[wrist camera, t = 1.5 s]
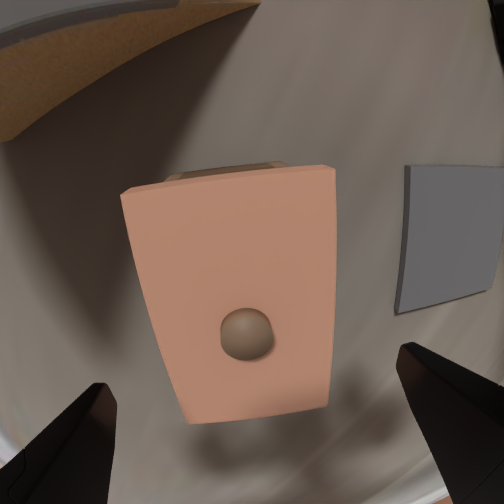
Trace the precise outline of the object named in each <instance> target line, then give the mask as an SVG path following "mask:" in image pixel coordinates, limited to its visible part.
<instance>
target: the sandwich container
mask: <svg viewBox="0 0 504 504" xmlns="http://www.w3.org/2000/svg"><path fill="white" fill-rule="evenodd" d="M260 3H261V0H0V142H5V141H10V140H13V139H14V138H15V137H16V136H17V135H19V134H20V133H21V132H22V131H24V130H25V129H26V128H27V127H29V126H30V125H31V124H33V123H34V122H35V121H37V120H38V119H39V118H41V117H42V116H43V115H45V114H46V113H47V112H49V111H50V110H52V109H53V108H54V107H56V106H57V105H59V104H60V103H62V102H63V101H65V100H66V99H68V98H69V97H71V96H72V95H74V94H75V93H77V92H79V91H80V90H82V89H83V88H85V87H87V86H88V85H90V84H91V83H93V82H95V81H96V80H98V79H99V78H101V77H102V76H104V75H105V74H107V73H109V72H110V71H112V70H114V69H115V68H117V67H119V66H120V65H122V64H124V63H125V62H127V61H129V60H131V59H132V58H134V57H136V56H138V55H140V54H141V53H143V52H145V51H147V50H149V49H151V48H153V47H155V46H157V45H159V44H161V43H163V42H165V41H167V40H169V39H171V38H173V37H175V36H177V35H179V34H181V33H184V32H186V31H188V30H190V29H193V28H195V27H197V26H200V25H202V24H205V23H207V22H210V21H212V20H215V19H217V18H220V17H222V16H225V15H228V14H231V13H233V12H236V11H239V10H242V9H245V8H248V7H251V6H254V5H257V4H260Z"/></svg>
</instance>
